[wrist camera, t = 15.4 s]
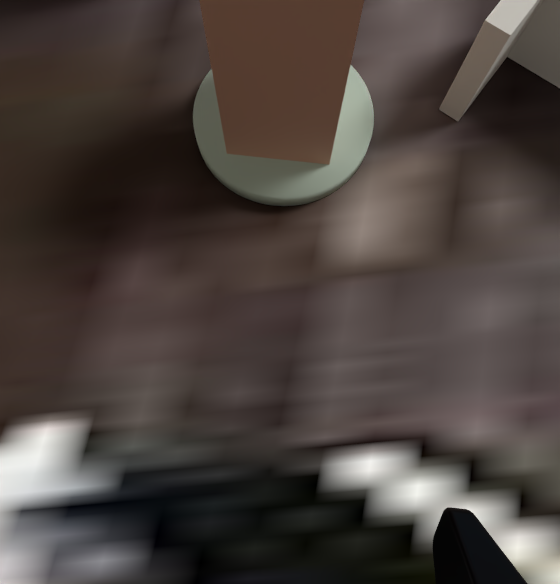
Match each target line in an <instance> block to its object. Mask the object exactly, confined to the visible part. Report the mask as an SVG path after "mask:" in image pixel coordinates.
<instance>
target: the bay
mask: <svg viewBox="0 0 560 584" xmlns="http://www.w3.org/2000/svg"><path fill="white" fill-rule="evenodd" d="M507 57H508V58H510V59H512V60H513V61H515V62H517V63H518V64H520V65H522V66H523V67H525V68H527V69H528V70H530V71H532V72H533V73H535V74H537V75H538V76H540V77H542V78H543V79H545V80H547V81H548V82H550V83H552V84H553V85H555V86H557V87H558V88H560V0H501V1H500V2H499V3H498V5H497V6H496V7H495V8H494V10H493V11H492V12H491V14H490V15H489V16H488V17H487V19H486V20H485V22H484V23H483V25H482V27H481V29H480V31H479V33H478V35H477V37H476V39H475V41H474V43H473V45H472V46H471V48H470V50H469V52H468V54H467V56H466V58H465V60H464V62H463V64H462V66H461V68H460V69H459V71H458V73H457V75H456V77H455V79H454V81H453V83H452V85H451V87H450V89H449V91H448V92H447V94H446V96H445V98H444V100H443V102H442V104H441V106H440V108H439V110H441V111H442V112H444V113H445V114H447V115H448V116H450V117H452V118H453V119H455V120H456V121H459V120H460V119H461V117H462V116H463V115H464V113H465V112H466V111H467V109H468V108H469V107H470V105H471V104H472V103H473V101H474V100H475V99H476V97H477V96H478V95H479V93H480V92H481V91H482V89H483V88H484V87H485V85H486V84H487V83H488V82H489V80H490V79H491V78H492V76H493V75H494V74H495V72H496V71H497V70H498V68H499V67H500V66H501V64H502V63H503V62H504V60H505V59H506V58H507Z"/></svg>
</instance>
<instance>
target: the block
mask: <svg viewBox="0 0 560 584" xmlns="http://www.w3.org/2000/svg"><path fill="white" fill-rule="evenodd" d="M363 3H364V0H200V6H201V11H202V17H203V23H204V28H205V34H206V40H207V45H208V51H209V56H210V62H211V68H212V73H213V79H214V85H215V90H216V96H217V101H218V107H219V113H220V118H221V124H222V130H223V135H224V141H225V146H226V152H227V154H234V155H244V156H253V157H263V158H272V159H282V160H291V161H300V162H310V163H319V164H330V159H331V154H332V150H333V145H334V140H335V136H336V131H337V126H338V121H339V117H340V112H341V107H342V102H343V98H344V93H345V88H346V83H347V79H348V74H349V69H350V65H351V60H352V55H353V50H354V46H355V41H356V36H357V31H358V27H359V22H360V17H361V12H362V8H363Z"/></svg>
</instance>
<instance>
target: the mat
mask: <svg viewBox="0 0 560 584" xmlns="http://www.w3.org/2000/svg"><path fill="white" fill-rule="evenodd" d="M193 126H194V132H195V136H196V140H197V144H198V147H199V150H200V153H201V156H202V158H203V160H204V162H205V163H206V165H207V167H208V168H209V170H210V171H211V172H212V174H213V175H214V176H215V177H216V178H217V179H218V180H219V181H220V182H221V183H222V184H223V185H224V186H226V187H227V188H228V189H230V190H231V191H233V192H234V193H236V194H238V195H239V196H242V197H244V198H246V199H248V200H251V201H254V202H258V203H261V204H266V205H272V206H296V205H301V204H307V203H310V202H313V201H316V200H319V199H321V198H324V197H326V196H328V195H330V194H331V193H333V192H335V191H336V190H338V189H339V188H340V187H342V186H343V185H344V184H345V183H346V182H348V180H349V179H350V178H351V177H352V176H353V175H354V174H355V173H356V171H357V170H358V168H359V167H360V165H361V163H362V161H363V159H364V157H365V155H366V152H367V149H368V146H369V143H370V140H371V137H372V133H373V126H374V111H373V104H372V100H371V97H370V93H369V91H368V89H367V87H366V85H365V83H364V81H363V80H362V78H361V77H360V75H359V74H358V73H357V71H356V70H355V69H354V68H353V67H352V66H351V65H350V69H349V74H348V79H347V83H346V88H345V93H344V98H343V102H342V107H341V112H340V117H339V121H338V126H337V131H336V136H335V140H334V145H333V150H332V154H331V159H330V164H319V163H310V162H300V161H291V160H282V159H272V158H263V157H253V156H244V155H234V154H227V152H226V146H225V141H224V135H223V130H222V124H221V118H220V113H219V107H218V101H217V96H216V90H215V85H214V79H213V73H212V69H211V70H210V71H209V73H208V74H207V75H206V77H205V78H204V80H203V82H202V83H201V85H200V87H199V90H198V92H197V95H196V99H195V102H194V109H193Z"/></svg>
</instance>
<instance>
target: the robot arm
mask: <svg viewBox="0 0 560 584" xmlns="http://www.w3.org/2000/svg"><path fill="white" fill-rule="evenodd" d="M433 557H434V567H435V577H436V584H527V583H526V581H525V580H524V579H523V578H522V576H521V575H520V574H519V572H518V571H517V570H516V568H515V567H514V566H513V564H512V563H511V562H510V561H509V559H508V558H507V557H506V555H505V554H504V553H503V551H502V550H501V549H500V548H499V546H498V545H497V544H496V542H495V541H494V540H493V538H492V537H491V536H490V535H489V533H488V532H487V531H486V529H485V528H484V527H483V525H482V524H481V523H480V522H479V520H478V519H477V518H476V516H475V515H474V514H473V513H472V512H471V511H469V510H466V509H458V508H446V509H445V510H444V512H443V514H442V516H441V519H440V522H439V524H438V527H437V529H436V532H435V535H434V538H433Z"/></svg>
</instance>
